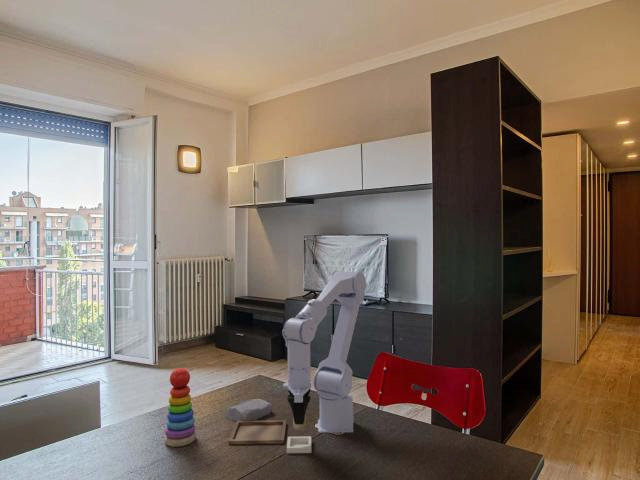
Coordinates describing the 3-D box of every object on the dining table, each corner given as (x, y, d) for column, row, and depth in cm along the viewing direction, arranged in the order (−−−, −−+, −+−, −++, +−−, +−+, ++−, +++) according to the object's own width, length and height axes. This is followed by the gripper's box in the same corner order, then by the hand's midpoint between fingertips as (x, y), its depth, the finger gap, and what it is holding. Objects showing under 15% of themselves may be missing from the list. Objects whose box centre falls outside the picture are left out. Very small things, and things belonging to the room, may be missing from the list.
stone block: (223, 424, 126) (246, 426, 121) (221, 407, 127) (244, 408, 121) (252, 413, 136) (275, 414, 130) (250, 397, 137) (273, 398, 131)
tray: (286, 424, 122) (286, 420, 122) (283, 444, 110) (283, 440, 110) (236, 425, 122) (236, 420, 122) (228, 445, 110) (228, 440, 110)
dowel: (305, 424, 110) (305, 403, 110) (305, 430, 106) (305, 408, 106) (293, 424, 110) (293, 403, 110) (292, 430, 106) (292, 408, 106)
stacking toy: (202, 437, 114) (202, 366, 114) (181, 450, 107) (181, 375, 107) (179, 431, 117) (179, 363, 117) (157, 444, 110) (157, 371, 110)
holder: (311, 442, 111) (311, 436, 111) (311, 454, 105) (311, 447, 105) (287, 442, 111) (287, 436, 111) (286, 454, 105) (286, 447, 105)
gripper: (284, 358, 115) (285, 409, 115) (281, 375, 101) (281, 433, 101) (311, 358, 115) (311, 408, 115) (311, 375, 101) (311, 433, 101)
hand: (299, 420), depth 108 cm, fingers closed on dowel, 3 cm apart
